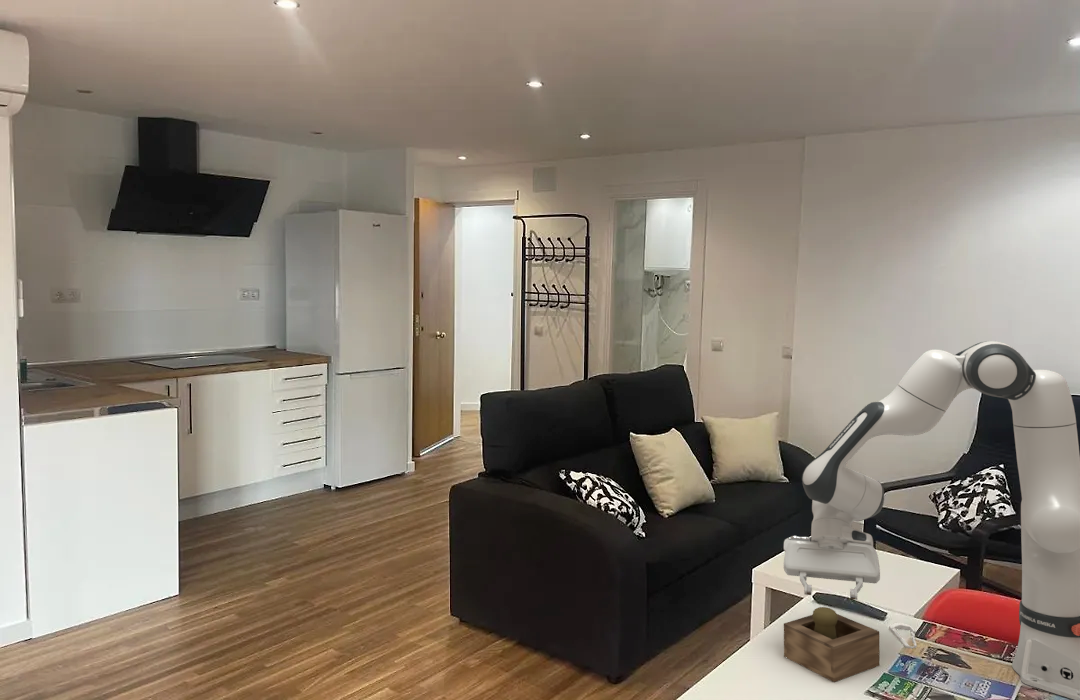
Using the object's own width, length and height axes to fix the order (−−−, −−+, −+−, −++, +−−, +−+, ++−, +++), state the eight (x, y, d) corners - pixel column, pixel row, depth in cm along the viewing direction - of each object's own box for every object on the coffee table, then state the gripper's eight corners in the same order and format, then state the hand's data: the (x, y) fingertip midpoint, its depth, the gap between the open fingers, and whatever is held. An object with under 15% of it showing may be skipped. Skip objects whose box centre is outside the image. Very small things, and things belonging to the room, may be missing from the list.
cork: (844, 664, 172) (844, 614, 171) (816, 664, 172) (816, 615, 171) (833, 651, 178) (833, 603, 177) (806, 652, 178) (806, 604, 177)
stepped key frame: (929, 653, 180) (929, 645, 179) (906, 653, 180) (906, 646, 180) (906, 626, 193) (906, 619, 192) (885, 626, 193) (885, 620, 193)
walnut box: (879, 665, 172) (879, 631, 172) (834, 682, 166) (833, 646, 165) (828, 641, 185) (828, 610, 184) (784, 656, 178) (783, 623, 177)
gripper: (783, 528, 184) (780, 584, 175) (879, 535, 176) (880, 594, 168) (784, 541, 188) (781, 597, 180) (878, 549, 180) (880, 607, 172)
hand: (830, 596), depth 174 cm, fingers open, 8 cm apart
